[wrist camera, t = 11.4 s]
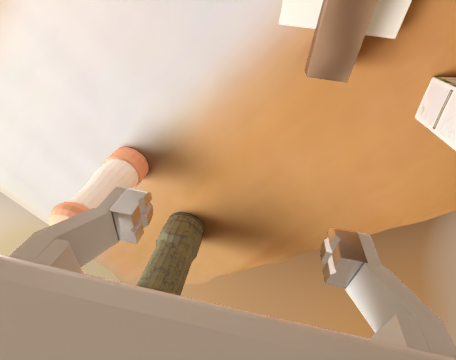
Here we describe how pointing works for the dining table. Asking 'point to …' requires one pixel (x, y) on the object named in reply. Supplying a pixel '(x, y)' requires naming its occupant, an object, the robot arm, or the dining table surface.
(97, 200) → the pepper shaker
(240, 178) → the dining table surface
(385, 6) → the board
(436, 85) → the syrup box
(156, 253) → the thermos
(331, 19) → the bar
